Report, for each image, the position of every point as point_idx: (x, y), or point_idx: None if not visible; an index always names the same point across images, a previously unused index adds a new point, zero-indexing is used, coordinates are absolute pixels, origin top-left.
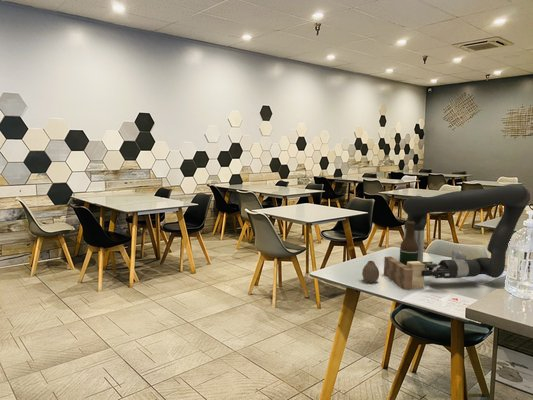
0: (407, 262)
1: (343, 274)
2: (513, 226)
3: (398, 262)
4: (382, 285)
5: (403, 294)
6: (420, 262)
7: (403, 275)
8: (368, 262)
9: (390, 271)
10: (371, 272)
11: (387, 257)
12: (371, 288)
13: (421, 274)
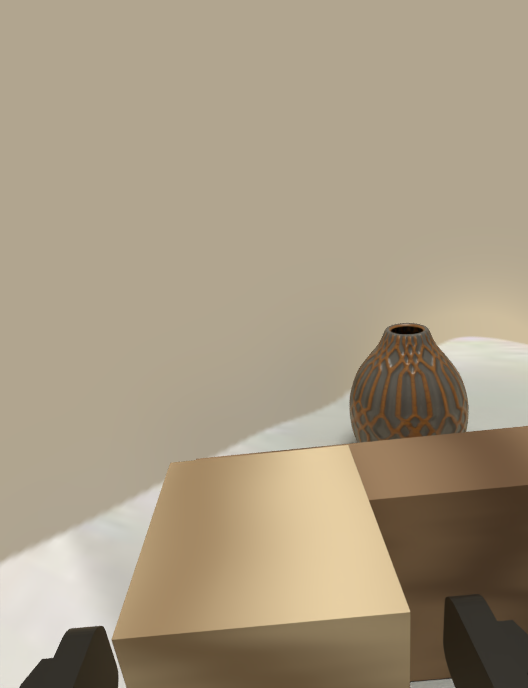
0: (336, 454)
1: (501, 387)
2: None
3: (523, 464)
4: None
5: (128, 570)
6: (295, 613)
7: None
8: (394, 327)
9: None
10: (352, 386)
11: None
12: (278, 446)
13: (111, 665)
